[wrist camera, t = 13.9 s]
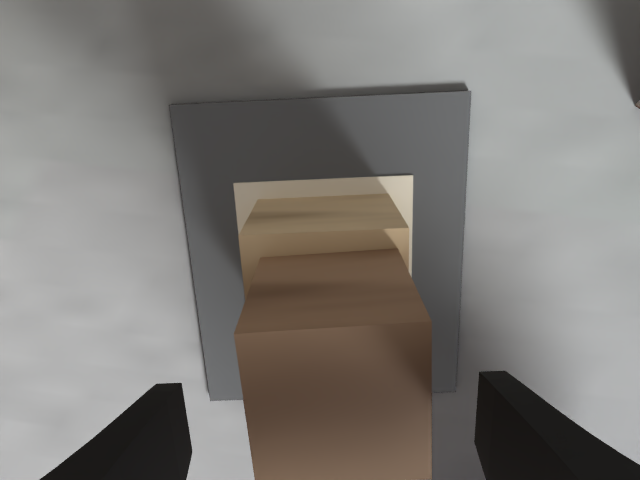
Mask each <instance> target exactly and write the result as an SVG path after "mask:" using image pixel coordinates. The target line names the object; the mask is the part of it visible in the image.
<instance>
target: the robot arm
mask: <svg viewBox="0 0 640 480" xmlns="http://www.w3.org/2000/svg"><path fill="white" fill-rule="evenodd" d="M474 442H475V445H476V448H477V452H478V455H479V459H480V462H481V465H482V468H483V471H484V474H485V478H486V480H640V465H639V464H637V463H635V462H634V461H632V460H631V459H629V458H627V457H626V456H624V455H622V454H621V453H619V452H618V451H616V450H615V449H613V448H612V447H610V446H609V445H607V444H606V443H604V442H602V441H601V440H599V439H598V438H596V437H595V436H593V435H592V434H590V433H589V432H588V431H586V430H585V429H583V428H582V427H580V426H579V425H577V424H576V423H575V422H573V421H572V420H570V419H569V418H568V417H566V416H565V415H564V414H562V413H561V412H559V411H558V410H557V409H555V408H554V407H553V406H551V405H550V404H549V403H547V402H546V401H545V400H543V399H542V398H541V397H539V396H538V395H537V394H536V393H534V392H533V391H532V390H530V389H529V388H528V387H526V386H525V385H524V384H522V383H521V382H520V381H518V380H517V379H516V378H514V377H513V376H512V375H510V374H509V373H507V372H506V371H487V372H479V383H478V398H477V412H476V427H475V441H474ZM191 455H192V446H191V440H190V434H189V427H188V421H187V415H186V408H185V402H184V396H183V389H182V383H166V384H156V385H155V386H153V387H152V388H151V389H150V390H148V391H147V392H146V393H145V394H144V395H143V396H141V397H140V398H139V399H138V400H137V401H136V402H135V403H133V404H132V405H131V406H130V407H129V408H128V409H127V410H125V411H124V412H123V413H122V414H121V415H120V416H119V417H117V418H116V419H115V420H114V421H113V422H111V423H110V424H109V425H108V426H107V427H106V428H104V429H103V430H102V431H101V432H100V433H99V434H97V435H96V436H95V437H94V438H93V439H91V440H90V441H89V442H88V443H86V444H85V445H84V446H83V447H81V448H80V449H79V450H78V451H76V452H75V453H74V454H72V455H71V456H70V457H69V458H67V459H66V460H65V461H64V462H62V463H61V464H60V465H59V466H57V467H56V468H55V469H53V470H52V471H51V472H49V473H48V474H47V475H45V476H44V477H42V478H41V479H40V480H186V478H187V474H188V469H189V465H190V460H191Z"/></svg>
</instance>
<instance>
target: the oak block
mask: <svg viewBox="0 0 640 480" xmlns="http://www.w3.org/2000/svg"><path fill="white" fill-rule="evenodd" d="M238 237H239V247H240V256H241V266H242V275H243V285H244V294H245V300H246V297H247V294H248V291H249V289H250V286H251V283H252V280H253V277H254V274H255V271H256V268H257V265H258V263H259V260H260V258H261V257H275V256H290V255H305V254H320V253H335V252H349V251H364V250H379V249H394V248H398V249H399V252H400V254H401V256H402V258H403V260H404V262H405V265H406V267H407V269H408V271H409V227H408V225H407V223H406V222H405V220H404V218H403V217H402V215H401V213H400V212H399V210H398V209H397V207H396V205H395V204H394V202H393V200H392V199H391V197H390V195H389V194H388V193H387V194H365V195H343V196H321V197H299V198H277V199H258V200H257V202H256V204H255V206H254V207H253V209H252V211H251V213H250V215H249V217H248V218H247V220H246V222H245V224H244V226H243V228H242V230H241V231H240V233H239V235H238Z"/></svg>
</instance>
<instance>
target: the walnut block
mask: <svg viewBox="0 0 640 480" xmlns="http://www.w3.org/2000/svg"><path fill="white" fill-rule="evenodd" d="M234 339H235V346H236V353H237V360H238V367H239V374H240V381H241V387H242V394H243V401H244V408H245V415H246V422H247V429H248V436H249V442H250V449H251V456H252V463H253V470H254V477H255V480H424V479H432V321H431V319H430V316H429V314H428V312H427V310H426V308H425V306H424V303H423V301H422V299H421V297H420V295H419V293H418V290H417V288H416V286H415V284H414V282H413V280H412V278H411V275H410V273H409V271H408V269H407V267H406V265H405V262H404V260H403V258H402V256H401V254H400V252H399V249H398V248H394V249H379V250H364V251H349V252H335V253H320V254H305V255H290V256H275V257H261V258H260V260H259V263H258V265H257V268H256V271H255V274H254V277H253V280H252V283H251V286H250V289H249V291H248V294H247V297H246V300H245V303H244V306H243V309H242V312H241V314H240V317H239V320H238V323H237V326H236V329H235V332H234Z"/></svg>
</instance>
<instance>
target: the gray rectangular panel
mask: <svg viewBox="0 0 640 480" xmlns="http://www.w3.org/2000/svg"><path fill="white" fill-rule="evenodd" d="M470 105H471V91H453V92H431V93H410V94H389V95H367V96H346V97H324V98H303V99H282V100H260V101H239V102H218V103H196V104H175V105H169V107H170V114H171V122H172V129H173V136H174V143H175V150H176V158H177V165H178V172H179V179H180V187H181V194H182V201H183V208H184V215H185V223H186V230H187V237H188V244H189V251H190V259H191V266H192V273H193V280H194V287H195V295H196V302H197V309H198V316H199V323H200V331H201V338H202V345H203V352H204V360H205V367H206V374H207V381H208V388H209V396H210V401H221V400H243V394H242V387H241V381H240V374H239V367H238V360H237V353H236V346H235V339H234V332H235V329H236V326H237V323H238V320H239V317H240V314H241V312H242V309H243V306H244V303H245V294H244V285H243V275H242V266H241V256H240V247H239V237H238V235H239V233H240V231H241V230H242V228H243V226H244V224H245V222H246V220H247V218H248V217H249V215H250V213H251V211H252V209H253V207H254V206H255V204H256V202H257V200H258V199H277V198H299V197H321V196H343V195H365V194H387V193H388V194H389V195H390V197H391V199H392V200H393V202H394V204H395V205H396V207H397V209H398V210H399V212H400V213H401V215H402V217H403V218H404V220H405V222H406V223H407V225H408V227H409V273H410V275H411V278H412V280H413V282H414V284H415V286H416V288H417V290H418V293H419V295H420V297H421V299H422V301H423V303H424V306H425V308H426V310H427V312H428V314H429V316H430V319H431V321H432V393H439V392H456V375H457V356H458V336H459V317H460V298H461V279H462V259H463V240H464V221H465V202H466V182H467V163H468V144H469V125H470Z"/></svg>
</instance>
